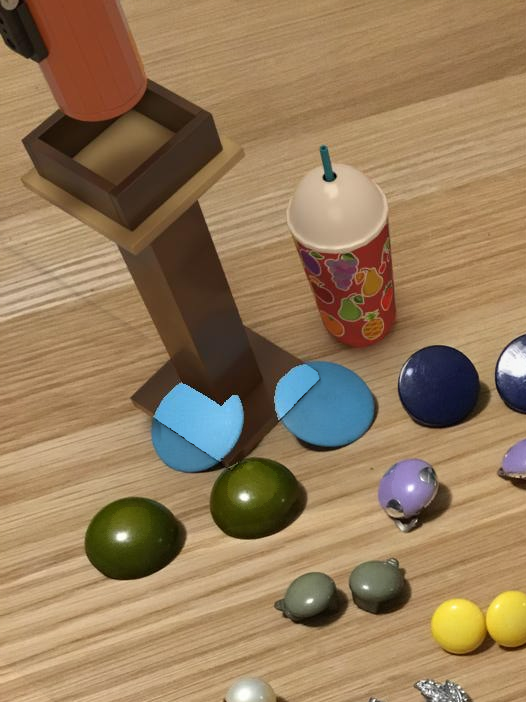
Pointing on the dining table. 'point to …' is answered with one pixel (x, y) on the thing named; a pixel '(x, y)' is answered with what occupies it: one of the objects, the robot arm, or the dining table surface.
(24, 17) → the robot arm
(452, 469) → the dining table surface
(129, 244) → the holder
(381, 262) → the smoothie
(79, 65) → the cup
